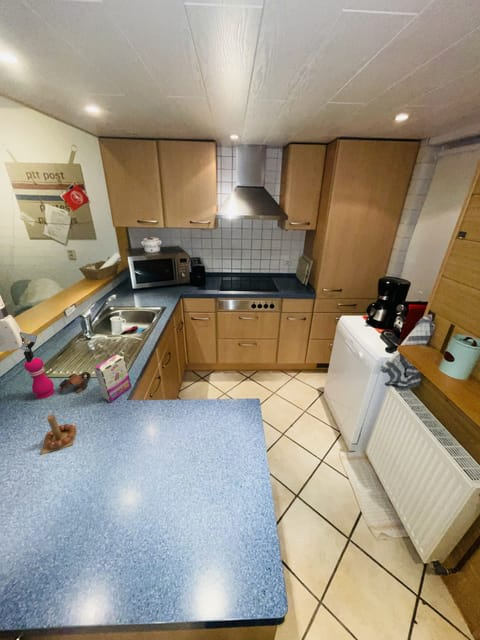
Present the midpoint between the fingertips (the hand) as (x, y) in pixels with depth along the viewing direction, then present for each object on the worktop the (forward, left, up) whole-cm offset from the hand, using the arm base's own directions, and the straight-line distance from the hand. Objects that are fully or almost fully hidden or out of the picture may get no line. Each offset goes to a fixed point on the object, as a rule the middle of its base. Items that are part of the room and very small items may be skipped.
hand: (12, 363), depth 80 cm
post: (+8, -10, -28) cm, 31 cm away
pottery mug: (+10, +19, -28) cm, 36 cm away
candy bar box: (+26, +9, -28) cm, 39 cm away
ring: (+9, -10, -26) cm, 29 cm away
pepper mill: (-2, +19, -28) cm, 34 cm away
